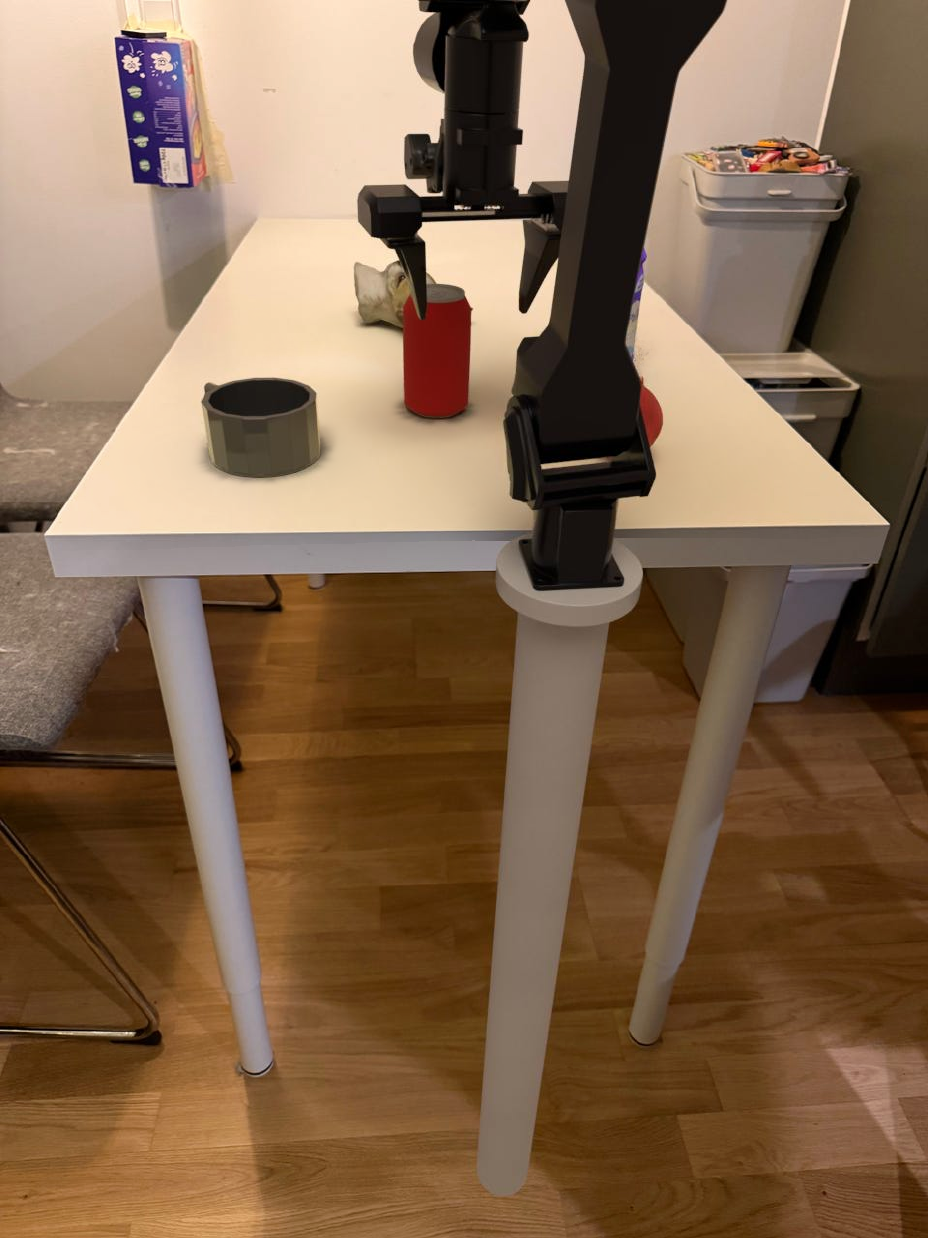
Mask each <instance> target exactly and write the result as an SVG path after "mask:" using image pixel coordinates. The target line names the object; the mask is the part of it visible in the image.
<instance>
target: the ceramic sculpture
mask: <svg viewBox="0 0 928 1238" xmlns="http://www.w3.org/2000/svg"><path fill="white" fill-rule="evenodd" d="M353 280H354V281H353V282H354V293H355V297H356V300H357V302H358V305H357V311H358V315H359V317H360V318H361V320H362V321H363V322H364V323H366V324H371V323H377V322H379V321H384V322H388V323H389V324H391V325H394V326H396V327H398V328H402V329H403V306H404V304H405V302H406V300H407V298H408V296H409V294H410V289H409V286H408V283H407V280H406V276H405V274H404V271H403V268H402V265H401V263H400V261H399V259H397V260H395V261H393V262H390V263H389V264H387V265H386V267H385V268H384V270H383V271H380V270H379V269H376V268H375V267H374V266H373V267H372V266H369V265H366V264H362V263H361V262H359V261H355V262H354V264H353ZM426 281H427V284H438V283H437V281H436V280H435V279H434V278H433V276H432V275H431V274H430V273H428V272H427V271H426ZM473 311H474V307H471V312H473Z"/></svg>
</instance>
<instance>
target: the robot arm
mask: <svg viewBox="0 0 928 1238" xmlns="http://www.w3.org/2000/svg"><path fill="white" fill-rule="evenodd" d="M417 1H418V9H419V12H423V13H432V14H431V15H429V16H428V17H427V18H426V19H425V20H424V21H423V22H422V23H421V24H420V26H419V28H418V30H417V32H416V34H415V37H414V42H413V44H412V56H413V57H412V59H413V64H414V67H415V69H416V72H417V74H418V75H419V77H420V79H421V80H422V81H423V82H424V83H425V84H426V85H427V86H428V87H430V88H432V89H433V90H435V91H436V92H439V93H442V94H443V95H444V99H443V100H444V101H443V103H444V107H443V118H440V125H439V132H438V133H439V134H438V135H439V136H438V140H437V142H432V140H431V135H430V134H429V133H408V134H406V135H405V136H404V141H403V142H404V143H403V148H404V149H403V164H404V175H405V177H406V180H425V183H426V193H428V194H434V195H428V196H427V195H425V196H423V195H422V196H420V195H418V193H416V192H415V191H414V190H413V189H412V188H411V187H409V186H408V185H407V184H403V183H402V184H366V185H365V184H364V185H363V187H362V188H361V190H360V191H359V192H358V194H357V200H356V201H357V202H356V203H357V204H356V205H357V222H358V224H359V225H360V226H361V227H362V228H363V229H364V230H365V231H366V233H367V234H368V235H369V236H370V237H371V238H375V239H379V240H380V241H381V242H382V243H383V244H384V245H385V246H386V248H387V249H389V250H394V251H395V255H396V257H397V258H398V260H399V261H400V263H401V265H402V268H403V271H404V274H405V276H406V280H407V283H408V286H409V289H410V292H411V296H412V299H413V302H414V305H415V308H416V312H417V315H418V317H419V318H420V320H425V318H426V310H427V281H426V272H427V251H426V249H427V248H426V245H427V244H426V241H425V240H424V239H423V238H422V237H421V236H420V235H419V234H418V232H419V231H420V229H422V227H423V223H440V222H441V223H444V222H471V221H472V222H474V221H476V222H477V221H499V220H500V221H501V220H504V221H505V220H522V229H523V238H524V247H523V248H524V249H523V257H522V264H521V271H520V280H519V286H518V311H519V312H520V313H521V314H523V315H525V314H528V311H529V309H530V308H531V306H532V305H533V302H534V300H535V299H536V297H537V295H538V293H539V292H540V289H541V287H542V286H543V284H544V281H545V280H546V278H547V276H548V274H549V273H550V271H551V269H552V268H553V266H554V265H555V263H556V262H557V264H556V272H555V278H554V287H553V294H552V301H551V308H550V316H549V320H548V324H547V325H546V327H545V328H544V329H543V330H542V332H541V333H540V334H539V335H536V336H535V335H534V336H524V337H523V338H522V339H521V341H520V343H519V345H518V347H517V349H516V361H515V363H516V364H515V372H514V373H515V374H514V380H513V384H512V387H511V395H512V396H510V397H509V399H508V401H507V404H506V410H505V412H504V419H503V421H502V427H503V433H504V438H505V451H506V466H507V473H508V479H509V495H508V496H510V498H511V499H512V500H514V501H518V502H522V503H526V505H527V506H528V507H529V509H530V510H531V511H533V520H532V530H531V532H532V539H521V540H519V543H518V548H519V551H520V554H521V556H522V559H523V562H524V565H525V568H526V571H527V573H528V576H529V579H530V582H531V585H532V588H533V589H534V590H537V591H552V590H572V589H592V588H612V587H622V586H623V585H624V580H625V579H624V577H623V575H622V573H621V571H620V569H619V567H618V565H617V563H616V561H615V559H614V557H613V555H612V553H611V552H612V545H613V540H614V538H615V531H616V523H617V517H618V509H619V503H620V502H619V501H620V499H626V498H627V499H628V498H635V497H636V498H637V497H639V498H646V497H649V495H650V493H651V491H652V488H653V486H654V484H655V481H656V479H657V471H656V466H655V462H654V458H653V454H652V449H651V446H650V445H649V441H648V437H647V432H646V428H645V424H644V420H643V415H642V411H641V407H640V397H641V389H642V382H641V379H640V377H639V376H640V374H639V372H638V370H637V367H636V364H635V363H634V360H632V358H631V355H630V353H629V350H628V348H627V345H626V335H627V330H628V325H629V320H630V315H631V310H632V305H633V299H634V294H635V289H636V284H637V279H638V274H639V269H640V264H641V259H642V254H643V249H645V245H646V238H647V233H648V228H649V223H650V219H651V213H652V210H653V209H652V208H653V203H654V198H655V194H656V188H657V182H658V178H659V173H660V168H661V163H662V158H663V153H664V147H665V143H666V139H667V133H668V129H669V128H668V127H669V123H670V117H671V112H672V108H673V102H674V98H675V93H676V89H677V84H678V79H679V75H680V72H681V70H682V69H683V68H684V66H685V65H686V64H687V62H688V61H689V60H690V58H691V57H692V55H693V54H694V53H695V52H696V51H697V49H698V47H699V46H700V45H701V43H702V42H703V40H704V39H705V38H706V37H707V36H708V35H709V33H710V31H711V30H712V29H713V28H714V26H715V25H716V23H717V22H718V21H719V20H720V18H721V17H722V15H723V14H724V11H725V9H726V7H727V3H728V0H564V2H565V5H566V8H567V10H568V13H569V16H570V18H571V21H572V25H573V27H574V30H575V32H576V36H577V38H578V40H579V44H580V46H581V49H582V52H583V55H584V63H583V73H582V80H581V87H580V95H579V101H578V102H579V103H578V109H577V116H576V117H577V118H576V125H575V132H574V139H573V146H572V153H571V160H570V161H571V162H570V169H569V176H568V180H540V181H539V180H538V181H531V183H530V185H529V187H528V190H527V193H520V189H519V188H517V187H515V181H516V180H515V179H516V163H517V149H518V147H517V146H523V139H524V138H523V137H524V129H522V128H520V127H519V117H520V101H521V85H522V71H523V58H524V57H523V55H524V43H527V42H528V41H529V38H530V32H529V29H528V25H527V23H526V21H525V20H524V19H523V18H522V17H521V16H523V15H524V14H525V12H526V10H527V8H528V6H529V4H530V3H531V0H417ZM435 194H441V195H435ZM457 206H459V207H460V208H457V209H456V207H457ZM605 458H611V461H604V462H595V463H584V464H577V465H567V466H558V467H557V466H556V467H549V468H542V465H548V464H549V465H550V464H558V463H567V462H568V463H569V462H576V461H577V462H578V461H585V460H594V459H605Z"/></svg>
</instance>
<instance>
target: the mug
mask: <svg viewBox="0 0 928 1238" xmlns="http://www.w3.org/2000/svg"><path fill="white" fill-rule="evenodd" d="M203 390H204V394H203V396H202V399H201V401H200V403H201V410H202V416H203V423H204V430H205V435H206V442H207V443H206V444H207V449H208V456H209V457H210V461H211V463H212V464H213V466H215V467H216V468H217V469H218V470H220V471H222V472H224V473H227V474H230V475H234V476H238V477H244V478H273V477H280V476H287V475H290V474H293V473H297V472H299V471H302V470H305V469H307V468H308V467H310V466H312V465H313V464H314V463H315V462H316V461H317V460H318V459H319V458H320V454H321V436H320V422H319V421H320V419H319V408H318V406H319V405H318V395H317V394H318V393H317V392H316V391H315V389H313V388H312V387H311V386H310V385H308V384H306V383H304V382H301V381H299V380H298V381H297V380H294V379H289V378H280V377H251V378H242V379H237V380H231V381H229V382H225V383H222V384H216V383H214V382H210V381H209V382H206V383H205V384H204V386H203Z"/></svg>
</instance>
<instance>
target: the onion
mask: <svg viewBox="0 0 928 1238" xmlns="http://www.w3.org/2000/svg"><path fill="white" fill-rule="evenodd" d="M639 377H640V379H641V382H642V389H641V397H640V407H641V411H642V415H643V420H644V424H645V428H646V432H647V437H648V441H649V445H650V447H651V446H653V445H654V444H655V442H656V441H657V440H658V438H659V436H660V434H661V432H662V429H663V426H664V413H663V409H662V406H661V404H660V402H659V401H658V399H657V397H656V396H655V394H654V393H653V392H652V391H651V390H650V389H648V387H646V386H645V378H644V376H642V375H639Z"/></svg>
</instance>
